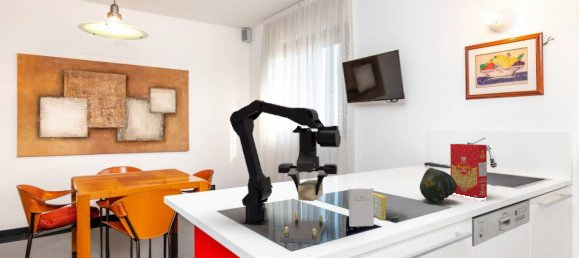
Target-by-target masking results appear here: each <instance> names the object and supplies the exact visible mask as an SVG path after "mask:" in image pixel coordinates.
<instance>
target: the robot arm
mask: <svg viewBox="0 0 579 258" xmlns="http://www.w3.org/2000/svg"><path fill="white" fill-rule="evenodd" d="M263 113H265V114H268V115H272V116H277V117H281V118H284V119H288V120H290V121H292V122H293V123H295V124H298V125H297V126H296V128H294V129H293V130H292V133H293V134H298V156H297V158H296V159H297V160H296V162H295V163H296V165H294V163H293V162H283V163H279V165H278V166H277V174H287V177H290V178H291V179H292V181H293V183H294V185H295V189H296V192H297V193H298V184H300V183H301V180H300V179H301V178H300V173H309V174H310V173H313V172H317V173H318V174H317V176H316V177H317V179H316V180H317V187H316V196H318V193H319V189H320V186H321V183H322V181H323V180H324V179H325V178H327V177H328V176H329V175H338V173H339V172H338V170H339V169H338V165H337V164H336V163H324V165H320V156H318V155H317V154H318V153H317V151H318V148H317V147H318V146H317V145H319V147H320V148H340V147H341V140H342V138H341V137H342V136H341V132H340V130H339V126H338V125H331V126H328V125H326V126H325V125H324V123H323V122H322V121H321V119H320V118H319V113H318V111H317V110H316V109H314V108H308V107H289V106H284V105H280V104H276V103H272V102H268V101H267V102H266V101H264V100H260V99H255V100H253V101H252V102H250V103H249V104H246V105H245V106H242V107H241V108H240V109H238V110H235V111H233V112H232V113H231V115H230V117H229V122H230V125H231V127H232V129H233V131H234V132H235V133H236V136H238V139H239V141H240V147H241V150H242V153H243V154H242V155H243V158H244V162H245V165H246V169H247V174H248V179H247V181H248V182H247V193H246V195H244V196H243V198H242V199H241V203H242V205H243V207H245V220H244V221H243V224H249V225H251V224H252V225H263V224H264V223H265V222H266V221H267V220H268V218H267V217H268V214H267V210H268V209H267V207H266V203H268V200H269V198H270V197H271V195H272V193H273V189H272V188H274V186H273V184H272V181H271V180H272V179H271V176H266V175H265V174H264V173H263V169H262V165H261V161H260V158H259V153H258V151H257V145H256V143H255V142H256V141H255V138H254V130H255V129H254V128H255V122H254V121H256V120H257V119H258V118H259V117H260V115H262V114H263ZM314 129H315V130H314Z"/></svg>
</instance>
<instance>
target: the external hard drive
mask: <svg viewBox="0 0 579 258" xmlns="http://www.w3.org/2000/svg"><path fill="white" fill-rule="evenodd" d="M373 193H374V188H373V187H358V188H357V187H356V188H353V187H351V188H348V219H349V220H348V226H349V227H352V228H353V227H374V224H375V220H374V219H375V216H374V202H373Z"/></svg>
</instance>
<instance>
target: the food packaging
mask: <svg viewBox="0 0 579 258" xmlns="http://www.w3.org/2000/svg"><path fill="white" fill-rule="evenodd" d="M449 146H450V147H449V148H450V153H449V155H450V160H449V161H450V175H451V176H452V177H453V179H454V180H455V181H456V184H457V189H456V191H455V192H454V193H456V194H460V195H465V196H470V197H474V198H485V197H487V198H488V178H487V177H488V172H487V171H488V170H487V169H488V166H487V165H488V161H487V159H488V158H487V148H488V147H487V144H476V143H475V144H472V143H450V144H449Z"/></svg>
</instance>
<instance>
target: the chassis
mask: <svg viewBox="0 0 579 258" xmlns="http://www.w3.org/2000/svg"><path fill="white" fill-rule="evenodd" d="M299 218H300V217H299V214H297V213H295V214H294V220H293V221H292V222H291V223H290V225H288V226H286V225H285V226H284V232H283V233H282V235H281V236H280V240H279V241H280V242H281V243H282V242H283V243H292V244H293V243H297V244H308V245H310V244H311V245H319V244H320V242H321V239H322V236H323V233H324V231H325V230H326V226H327V222H326V221H324V216H323V215H319V216H318V221H312V220H310V221H309V220H307V221H306V220H299Z"/></svg>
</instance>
